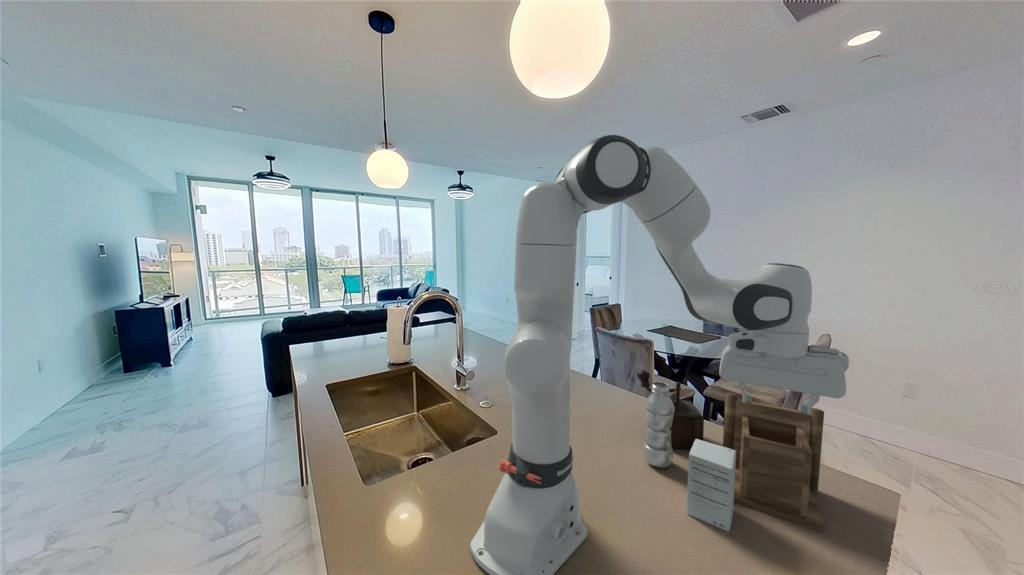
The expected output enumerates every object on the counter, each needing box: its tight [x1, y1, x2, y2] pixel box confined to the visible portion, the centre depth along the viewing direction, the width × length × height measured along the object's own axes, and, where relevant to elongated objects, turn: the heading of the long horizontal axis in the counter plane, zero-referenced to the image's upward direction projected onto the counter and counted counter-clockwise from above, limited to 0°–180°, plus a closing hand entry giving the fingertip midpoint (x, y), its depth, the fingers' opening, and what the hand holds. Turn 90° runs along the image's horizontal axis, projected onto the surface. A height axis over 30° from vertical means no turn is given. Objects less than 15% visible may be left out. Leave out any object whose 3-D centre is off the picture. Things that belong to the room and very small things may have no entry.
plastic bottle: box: [643, 381, 675, 469], centre depth 80 cm, size 6×7×20 cm
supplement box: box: [686, 439, 736, 533], centre depth 65 cm, size 7×7×13 cm
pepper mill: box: [636, 369, 705, 451], centre depth 92 cm, size 16×11×18 cm
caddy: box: [722, 392, 826, 533], centre depth 70 cm, size 14×17×18 cm
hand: (774, 407), depth 69 cm, fingers open, 8 cm apart
